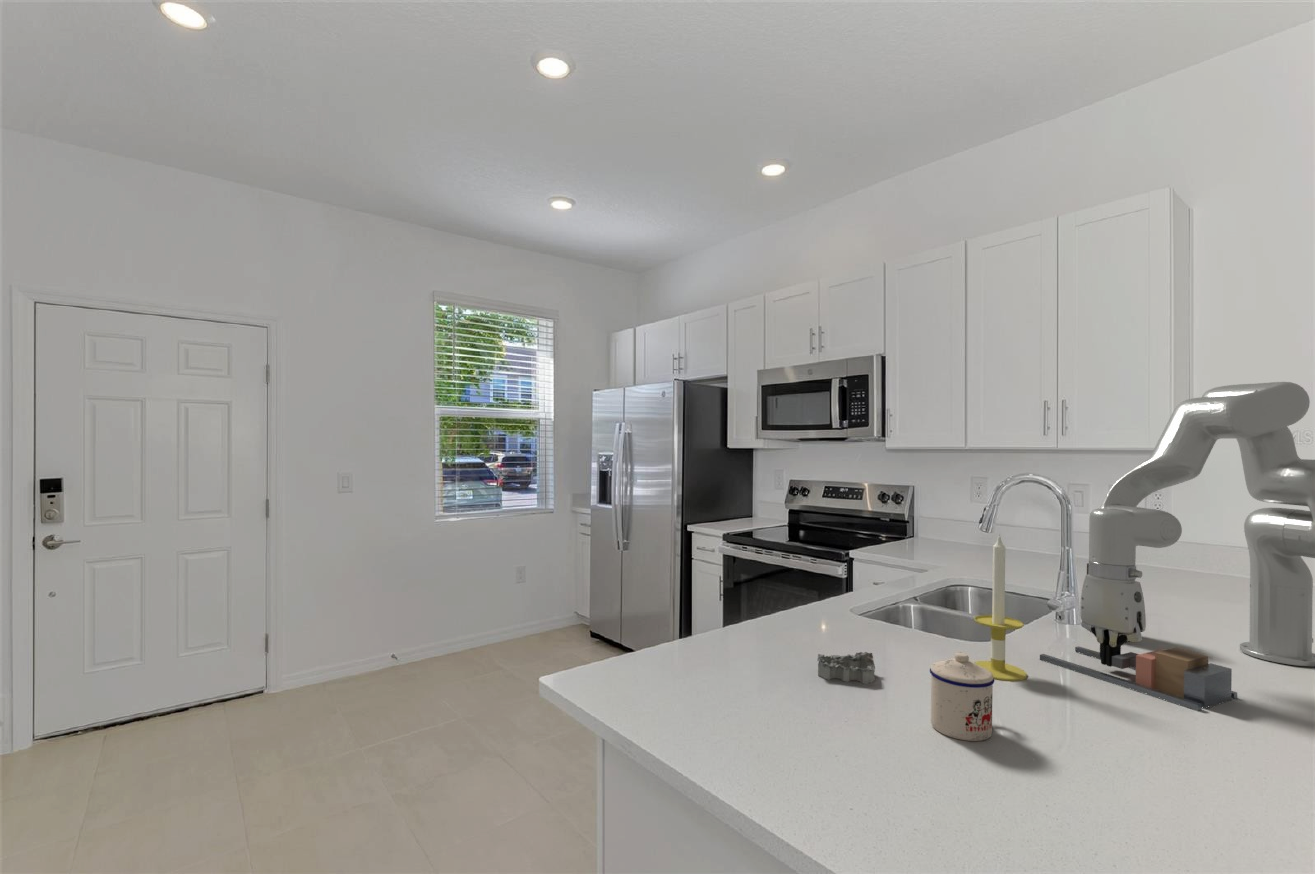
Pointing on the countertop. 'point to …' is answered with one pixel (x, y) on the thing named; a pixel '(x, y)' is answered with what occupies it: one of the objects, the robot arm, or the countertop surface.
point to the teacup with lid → (961, 699)
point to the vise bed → (1199, 691)
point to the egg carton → (847, 667)
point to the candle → (999, 623)
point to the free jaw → (1139, 666)
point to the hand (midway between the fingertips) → (1110, 664)
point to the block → (1175, 669)
